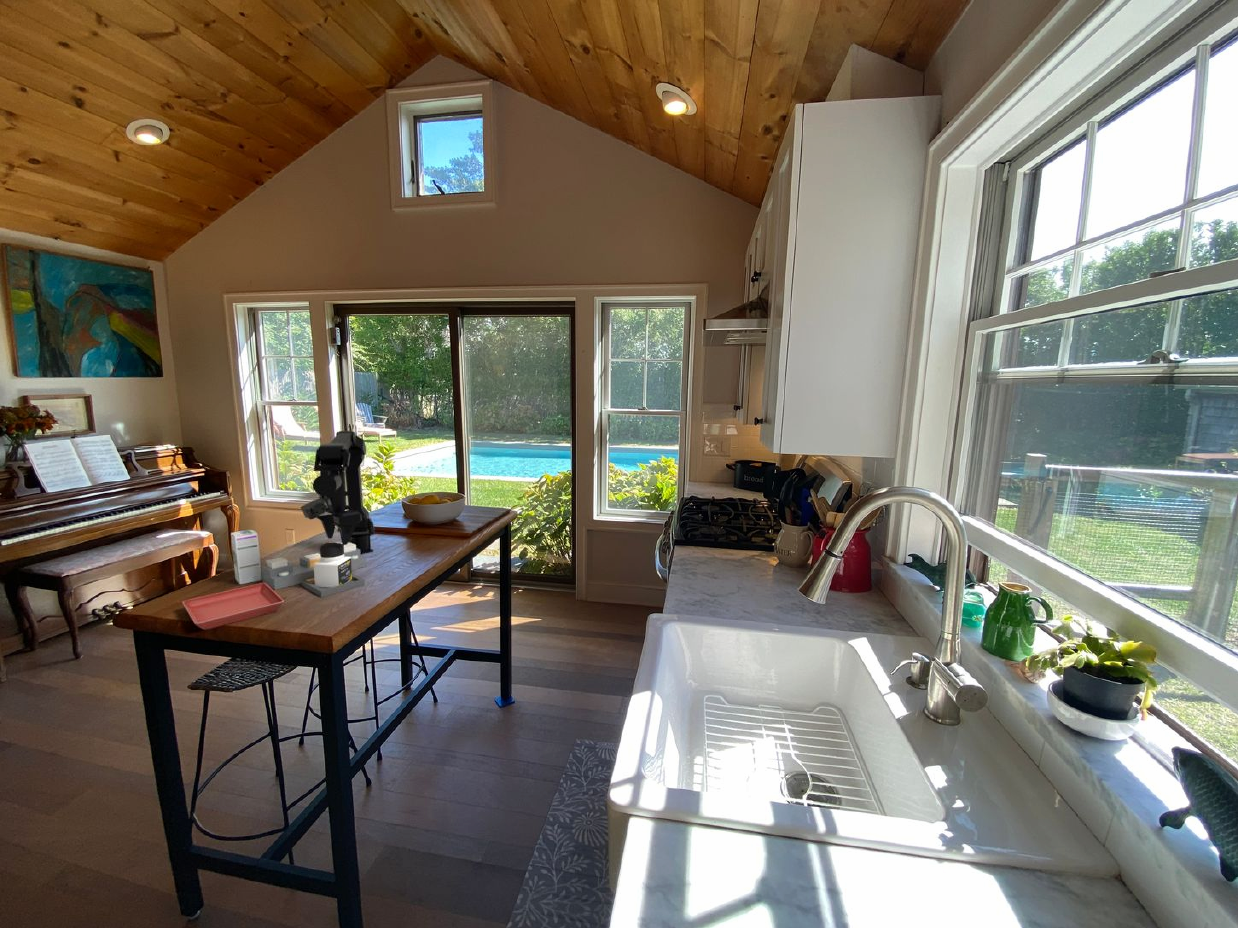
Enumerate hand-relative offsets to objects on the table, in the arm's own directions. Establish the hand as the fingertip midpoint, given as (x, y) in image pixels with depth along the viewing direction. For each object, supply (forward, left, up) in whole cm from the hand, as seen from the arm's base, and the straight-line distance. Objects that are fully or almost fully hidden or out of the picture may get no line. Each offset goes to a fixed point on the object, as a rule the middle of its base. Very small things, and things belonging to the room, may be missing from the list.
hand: (337, 541), depth 150 cm
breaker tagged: (+1, -15, -10) cm, 18 cm away
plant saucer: (+26, -1, -14) cm, 29 cm away
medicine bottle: (+2, 0, -13) cm, 13 cm away
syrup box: (+16, -23, -13) cm, 31 cm away
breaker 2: (-9, -15, -9) cm, 20 cm away
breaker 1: (+11, -15, -9) cm, 20 cm away
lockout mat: (+2, 0, -13) cm, 13 cm away
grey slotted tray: (+1, -13, -13) cm, 19 cm away
